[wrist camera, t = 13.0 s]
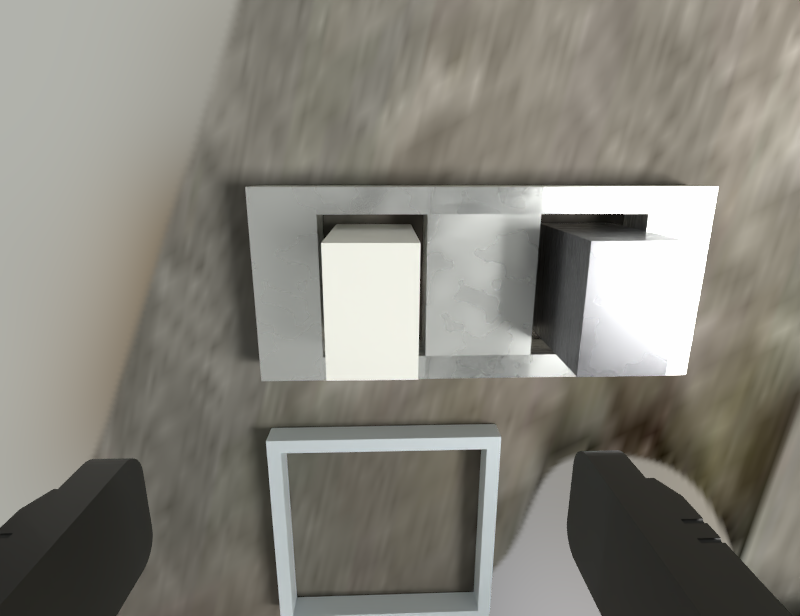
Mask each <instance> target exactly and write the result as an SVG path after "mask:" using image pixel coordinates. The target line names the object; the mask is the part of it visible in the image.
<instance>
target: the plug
mask: <svg viewBox="0 0 800 616" xmlns="http://www.w3.org/2000/svg"><path fill="white" fill-rule="evenodd" d="M321 254H322V280H323V305H324V331H325V357H326V381H337V380H418V358H419V301H420V241H419V239H418V237H417V235H416V233H415V231H414V230H413V228H412V226H411V224H336V225H335V226H334V228H333V229H332V230H331V231H330V233H329V234H328V235H327V236H326V238H325V239H324V240H323V241H322V243H321Z"/></svg>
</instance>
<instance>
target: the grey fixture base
mask: <svg viewBox="0 0 800 616" xmlns="http://www.w3.org/2000/svg"><path fill="white" fill-rule="evenodd" d="M245 191H246V203H247V215H248V227H249V239H250V251H251V263H252V275H253V286H254V298H255V310H256V322H257V334H258V346H259V358H260V370H261V381H304V380H326V357H325V331H324V305H323V280H322V254H321V243H322V241H323V240H324V237H323V215H343V214H423V280H422V340H419V358H418V379H438V378H506V377H573V376H576V377H608V376H666V375H686V371H687V365H688V359H689V353H690V348H691V342H692V336H693V330H694V325H695V319H696V313H697V308H698V302H699V296H700V290H701V285H702V279H703V273H704V267H705V262H706V256H707V250H708V245H709V239H710V233H711V227H712V222H713V216H714V210H715V204H716V199H717V193H718V187H716V186H698V185H256V186H248V187H245ZM541 214H624V220H623V225H619V224H614V223H541ZM532 330H533V331H534V332H535V333H536V334H537V335H538V336H539V337H540V338H541V339H531V338H532Z"/></svg>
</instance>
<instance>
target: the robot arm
mask: <svg viewBox="0 0 800 616" xmlns="http://www.w3.org/2000/svg"><path fill="white" fill-rule="evenodd" d="M567 533H568V540H569V545H570V549H571V553H572V556H573V558H574V560H575V562H576V564H577V566H578V568H579V571H580V573H581V574H582V577H583V579H584V581H585V583H586V584H587V587H588V589H589V591H590V593H591V595H592V597H593V599H594V601H595V603H596V605H597V607H598V609H599V611H600V613H601V615H602V616H792V615H791V614H790V613H789V612H788V611H787V610H786V608H785V607H784V606H783V605H782V604H781V603H780V602H779V601H778V600H777V599H776V598H775V596H774V595H773V594H772V593H771V592H770V591H769V590H768V589H767V588H766V587H765V586H764V584H763V583H762V582H761V581H760V580H759V579H758V578H757V577H756V576H755V575H754V574H753V573H752V571H751V570H750V569H749V568H748V567H747V566H746V565H745V564H744V563H743V562H742V561H741V559H740V558H739V557H738V556H737V555H736V554H735V553H734V552H733V551H732V550H731V549H730V547H729V546H728V545H727V544H726V543H722V542H721V538H720V537H719V536H718V534H716V532H715V531H714V530H713V529H712V528H711V527H710V526H709V525H708V524H707V523H704V522H703V518H702V517H701V516H700V515H699V514H698V513H697V512H696V510H695V509H694V508H693V507H692V506H691V505H690V504H689V503H688V502H687V501H686V500H685V499H684V497H683V496H681V495H680V494H678V493H676V492H675V491H673V490H672V489H670V488H669V487H667V486H666V485H664V484H663V483H661V482H659V481H658V480H656V479H655V478H645V477H644V476H643V474H642V473H641V472H640V471H639V470H638V469H637V467H636V466H635V465H634V464H633V463H632V462H631V460H630V459H629V458H628V457H627V456H626V455H625V454H624V453H623V452H622V451H579V452H578V453H577V454H576V456H575V459H574V464H573V473H572V482H571V491H570V501H569V509H568V518H567ZM152 537H153V533H152V524H151V518H150V512H149V506H148V500H147V494H146V488H145V482H144V476H143V470H142V466H141V464H140V462H139V461H138V460H137V459H92V460H89V461H87V462H85V463H84V464H83V465H82V466H81V467H80V468H79V469H78V470H77V471H76V472H75V473H74V474H73V475H72V476H71V477H70V478H69V479H68V480H67V481H66V482H65V483H64V484H63V485H62V486H61V487H60V488H59V489H53V490H51V491H50V492H48V493H46V494H45V495H43V496H42V497H40V498H38V499H36V500H35V501H33V502H31V503H30V504H28V505H26V506H25V507H23V508H21V509H20V510H19V511H18V512H17V513H15V514H14V516H12V517H11V518H10V519H9V520H8V521H7V522H6V523H5V524H4V525H3V526H2V527H1V528H0V616H116V615H117V614H118V612H119V610H120V609H121V607H122V605H123V604H124V602H125V600H126V599H127V597H128V595H129V594H130V592H131V590H132V589H133V587H134V585H135V584H136V582H137V580H138V578H139V577H140V575H141V573H142V572H143V570H144V568H145V566H146V564H147V562H148V559H149V555H150V552H151V547H152Z"/></svg>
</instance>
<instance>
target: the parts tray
mask: <svg viewBox="0 0 800 616" xmlns="http://www.w3.org/2000/svg"><path fill="white" fill-rule="evenodd" d="M266 448H267V460H268V472H269V484H270V496H271V508H272V520H273V532H274V543H275V555H276V567H277V579H278V591H279V603H280V615H281V616H490V602H491V586H492V572H493V556H494V541H495V525H496V510H497V494H498V479H499V463H500V448H501V435H500V433H499V431H498V429H497V426H496V424H463V425H408V426H354V427H299V428H271V430H270V433H269V435H268V438H267V440H266ZM472 449H481V462H480V481H479V500H478V519H477V538H476V557H475V576H474V592H453V593H420V594H388V595H355V596H323V597H297V590H296V576H295V562H294V548H293V534H292V520H291V506H290V492H289V478H288V464H287V453H323V452H373V451H422V450H472Z"/></svg>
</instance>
